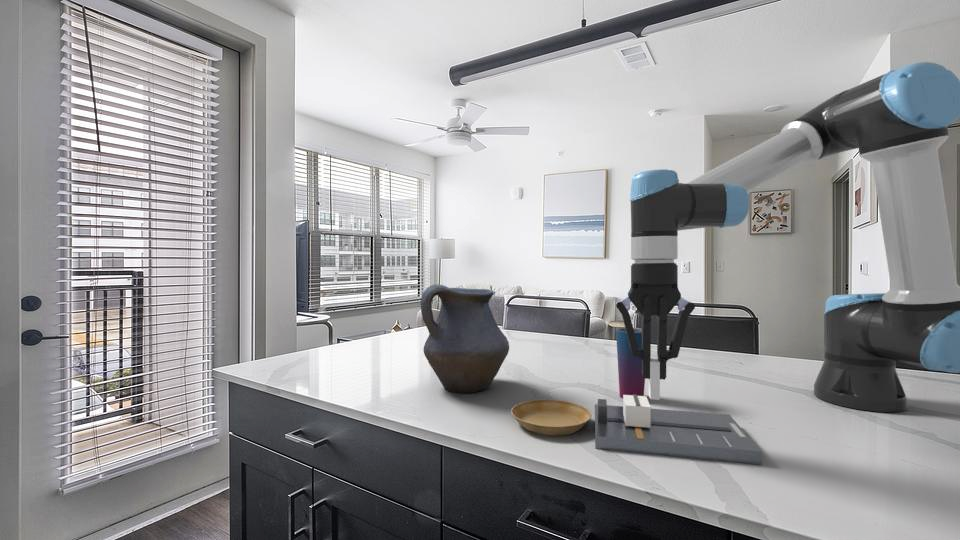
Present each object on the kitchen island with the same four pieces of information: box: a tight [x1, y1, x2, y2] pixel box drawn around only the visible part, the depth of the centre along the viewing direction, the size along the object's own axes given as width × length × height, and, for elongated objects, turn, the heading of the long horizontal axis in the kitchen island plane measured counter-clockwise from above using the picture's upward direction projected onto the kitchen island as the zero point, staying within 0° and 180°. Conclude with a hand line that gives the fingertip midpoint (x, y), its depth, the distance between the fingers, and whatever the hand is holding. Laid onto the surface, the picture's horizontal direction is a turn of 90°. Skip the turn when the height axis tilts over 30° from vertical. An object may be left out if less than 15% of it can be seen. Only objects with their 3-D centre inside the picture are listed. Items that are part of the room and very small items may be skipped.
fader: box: [622, 394, 652, 428], centre depth 78 cm, size 4×6×4 cm, turn 166°
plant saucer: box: [510, 398, 592, 437], centre depth 82 cm, size 15×15×3 cm
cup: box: [615, 327, 646, 400], centre depth 98 cm, size 7×7×15 cm
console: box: [594, 398, 763, 466], centre depth 77 cm, size 24×16×5 cm, turn 76°
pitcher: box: [420, 283, 510, 394], centre depth 105 cm, size 21×22×25 cm
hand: (654, 397), depth 77 cm, fingers closed
